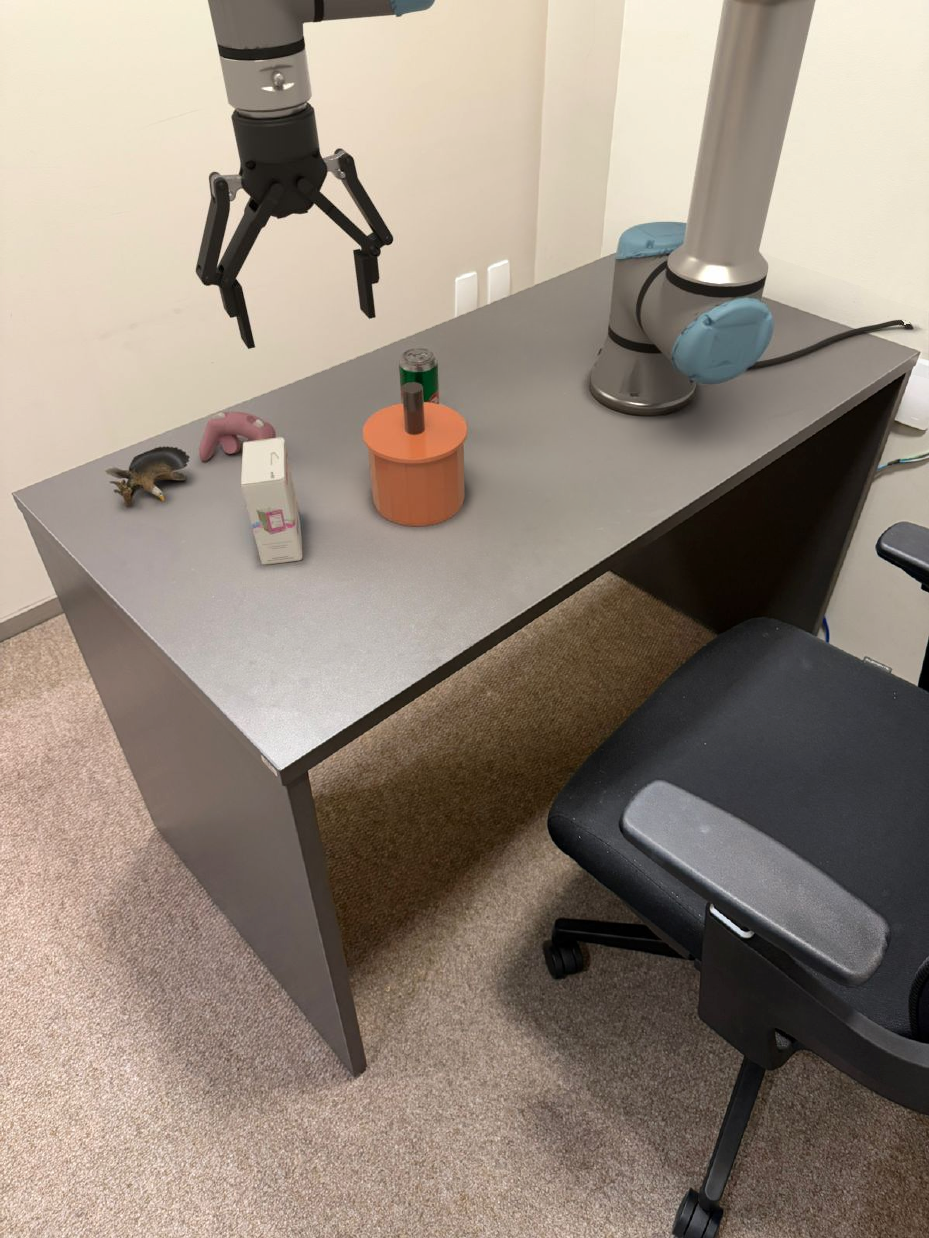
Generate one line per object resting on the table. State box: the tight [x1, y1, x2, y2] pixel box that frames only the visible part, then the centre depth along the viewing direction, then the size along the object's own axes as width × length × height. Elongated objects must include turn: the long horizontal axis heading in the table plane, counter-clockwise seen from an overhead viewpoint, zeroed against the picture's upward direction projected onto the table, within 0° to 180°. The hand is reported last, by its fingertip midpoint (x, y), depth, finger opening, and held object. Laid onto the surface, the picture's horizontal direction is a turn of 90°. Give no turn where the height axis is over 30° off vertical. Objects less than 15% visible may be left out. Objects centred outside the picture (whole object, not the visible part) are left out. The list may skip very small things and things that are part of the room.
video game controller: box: [198, 411, 277, 462], centre depth 114 cm, size 10×5×7 cm, turn 71°
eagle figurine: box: [104, 445, 191, 507], centre depth 108 cm, size 8×7×9 cm
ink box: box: [240, 436, 303, 566], centre depth 99 cm, size 9×5×12 cm, turn 9°
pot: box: [367, 443, 465, 527], centre depth 106 cm, size 11×11×10 cm
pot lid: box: [362, 382, 468, 463], centre depth 100 cm, size 12×12×7 cm
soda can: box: [398, 347, 440, 405], centre depth 115 cm, size 5×5×12 cm
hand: (309, 328), depth 93 cm, fingers open, 13 cm apart
